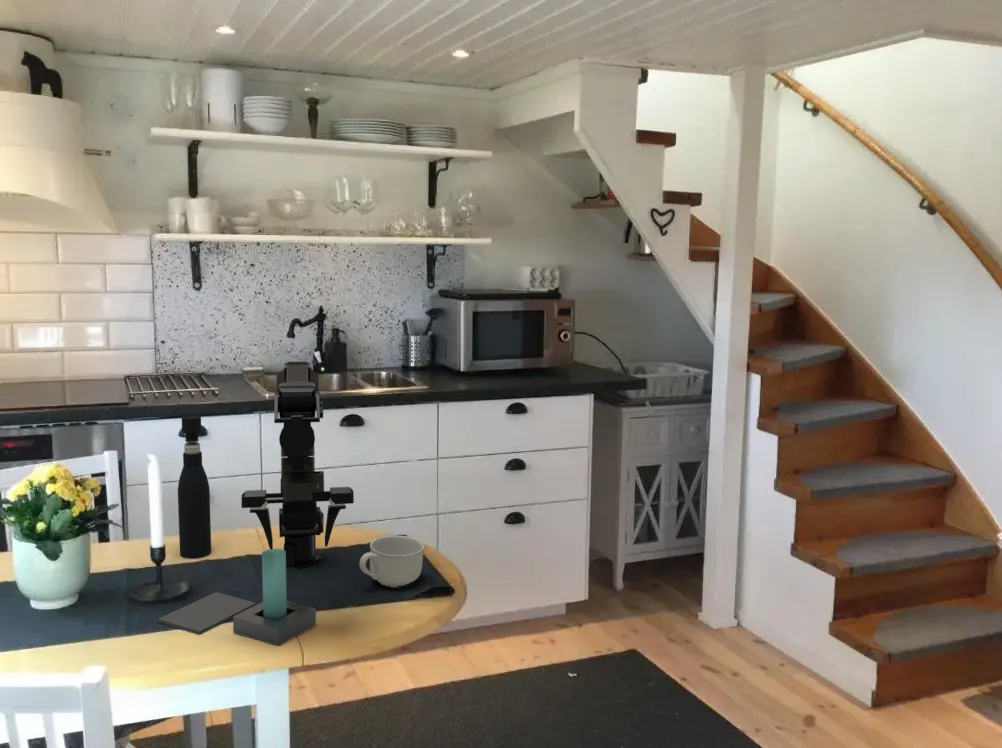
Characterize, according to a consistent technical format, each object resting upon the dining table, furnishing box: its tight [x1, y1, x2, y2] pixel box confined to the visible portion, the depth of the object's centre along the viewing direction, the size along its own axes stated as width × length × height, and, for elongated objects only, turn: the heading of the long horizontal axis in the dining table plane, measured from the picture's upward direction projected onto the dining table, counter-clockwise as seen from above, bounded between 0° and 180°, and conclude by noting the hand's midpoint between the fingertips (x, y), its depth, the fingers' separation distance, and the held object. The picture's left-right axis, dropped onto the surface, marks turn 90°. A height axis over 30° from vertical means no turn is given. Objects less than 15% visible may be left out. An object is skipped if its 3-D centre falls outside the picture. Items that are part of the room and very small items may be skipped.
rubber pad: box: [157, 591, 257, 635], centre depth 167 cm, size 14×10×1 cm
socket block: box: [232, 599, 317, 647], centre depth 161 cm, size 10×10×3 cm
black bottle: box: [177, 414, 212, 560], centre depth 194 cm, size 6×6×30 cm
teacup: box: [358, 535, 425, 588], centre depth 182 cm, size 14×11×8 cm
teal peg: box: [261, 548, 287, 621], centre depth 160 cm, size 4×4×14 cm
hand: (298, 547), depth 158 cm, fingers open, 9 cm apart
